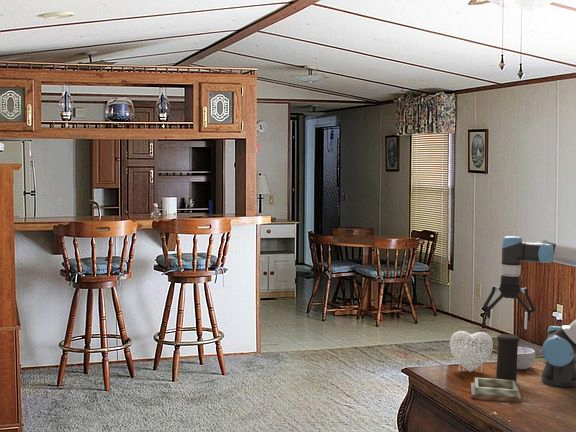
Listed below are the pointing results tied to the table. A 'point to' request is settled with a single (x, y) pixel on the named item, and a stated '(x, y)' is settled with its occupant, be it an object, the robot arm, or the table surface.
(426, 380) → the table surface
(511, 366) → the container
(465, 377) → the table surface
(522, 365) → the paper bowls
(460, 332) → the decorative heart
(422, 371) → the table surface
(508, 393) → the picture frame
